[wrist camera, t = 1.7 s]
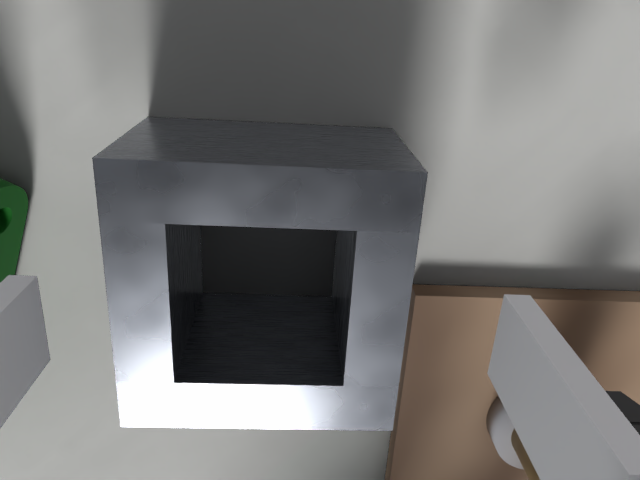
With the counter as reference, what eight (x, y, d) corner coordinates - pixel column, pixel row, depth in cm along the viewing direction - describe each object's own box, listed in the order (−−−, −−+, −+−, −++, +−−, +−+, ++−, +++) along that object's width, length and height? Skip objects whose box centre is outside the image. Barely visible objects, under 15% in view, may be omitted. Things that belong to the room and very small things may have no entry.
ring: (161, 328, 24) (120, 426, 18) (147, 116, 20) (92, 158, 15) (370, 333, 24) (392, 430, 19) (392, 128, 21) (427, 172, 15)
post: (382, 495, 28) (419, 702, 20) (410, 284, 23) (475, 437, 15) (611, 497, 29) (740, 696, 20) (683, 292, 24) (888, 443, 16)
